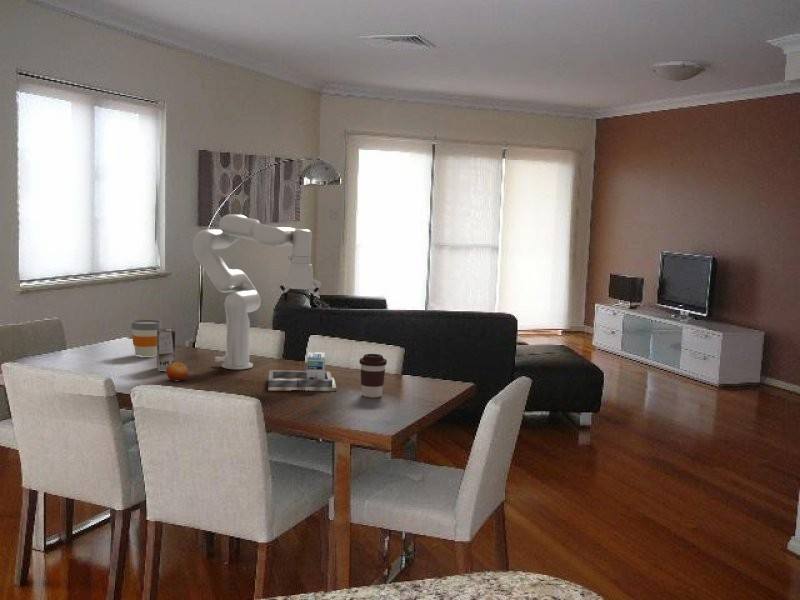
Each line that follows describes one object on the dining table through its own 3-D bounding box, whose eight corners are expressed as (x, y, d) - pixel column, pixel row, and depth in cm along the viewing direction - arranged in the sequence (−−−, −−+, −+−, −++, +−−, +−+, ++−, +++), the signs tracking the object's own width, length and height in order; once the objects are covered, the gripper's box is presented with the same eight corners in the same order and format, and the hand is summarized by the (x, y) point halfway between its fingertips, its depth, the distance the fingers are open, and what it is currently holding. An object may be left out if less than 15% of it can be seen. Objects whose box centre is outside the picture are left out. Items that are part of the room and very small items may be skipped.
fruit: (174, 372, 312) (181, 356, 310) (186, 385, 310) (194, 369, 307) (157, 376, 306) (165, 359, 303) (170, 389, 303) (178, 373, 300)
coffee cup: (361, 399, 289) (363, 358, 287) (355, 392, 298) (356, 352, 297) (388, 398, 292) (390, 357, 290) (381, 392, 301) (382, 352, 299)
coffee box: (175, 371, 322) (175, 331, 320) (158, 372, 319) (158, 331, 318) (172, 366, 330) (173, 328, 328) (156, 367, 328) (156, 328, 326)
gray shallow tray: (268, 390, 296) (268, 380, 296) (269, 379, 314) (269, 370, 314) (336, 390, 300) (336, 381, 300) (333, 380, 318) (333, 371, 317)
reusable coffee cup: (126, 357, 345) (127, 323, 343) (137, 352, 357) (137, 319, 355) (155, 359, 344) (156, 324, 343) (165, 354, 357) (165, 320, 355)
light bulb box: (324, 385, 303) (325, 357, 302) (306, 384, 302) (307, 356, 301) (325, 379, 314) (325, 351, 312) (307, 378, 313) (308, 351, 312)
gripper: (278, 259, 316) (276, 303, 318) (322, 262, 318) (320, 305, 320) (279, 258, 323) (277, 300, 325) (322, 260, 325) (320, 302, 327)
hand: (298, 302), depth 323 cm, fingers open, 9 cm apart
